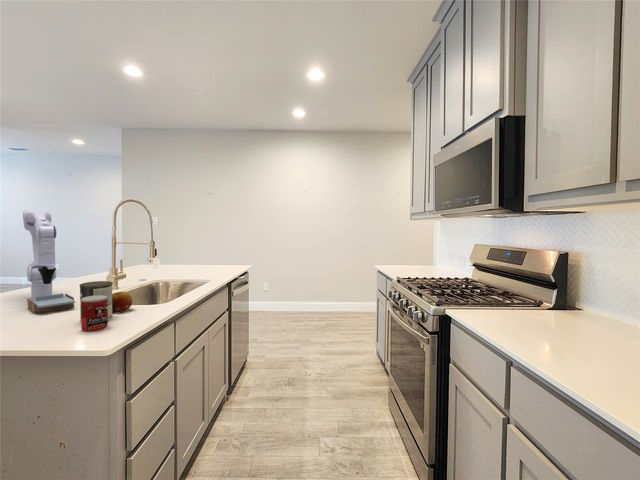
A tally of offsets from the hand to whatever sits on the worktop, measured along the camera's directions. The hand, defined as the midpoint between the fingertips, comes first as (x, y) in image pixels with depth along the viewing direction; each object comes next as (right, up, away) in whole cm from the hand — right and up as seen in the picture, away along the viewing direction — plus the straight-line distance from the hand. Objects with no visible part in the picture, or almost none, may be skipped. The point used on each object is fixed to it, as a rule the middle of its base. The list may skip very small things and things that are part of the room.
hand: (47, 283), depth 137 cm
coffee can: (+34, -12, -17) cm, 40 cm away
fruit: (+35, -11, -5) cm, 37 cm away
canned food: (+40, -12, -26) cm, 50 cm away
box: (+4, -10, -3) cm, 11 cm away
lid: (+8, -7, -5) cm, 12 cm away
